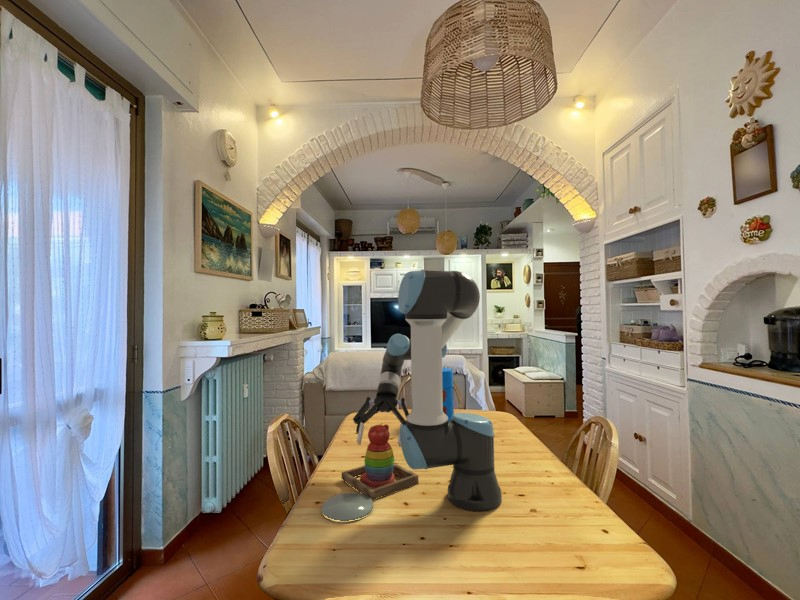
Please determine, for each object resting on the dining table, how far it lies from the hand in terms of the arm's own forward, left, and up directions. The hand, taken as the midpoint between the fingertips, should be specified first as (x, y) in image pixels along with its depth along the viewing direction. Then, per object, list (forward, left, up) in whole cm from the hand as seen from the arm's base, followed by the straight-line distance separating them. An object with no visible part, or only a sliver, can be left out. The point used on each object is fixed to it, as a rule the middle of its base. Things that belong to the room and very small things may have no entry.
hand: (378, 444), depth 123 cm
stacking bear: (-2, +1, -11) cm, 11 cm away
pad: (-10, +17, -11) cm, 23 cm away
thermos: (+32, -59, -11) cm, 68 cm away
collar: (-2, +1, -11) cm, 11 cm away
